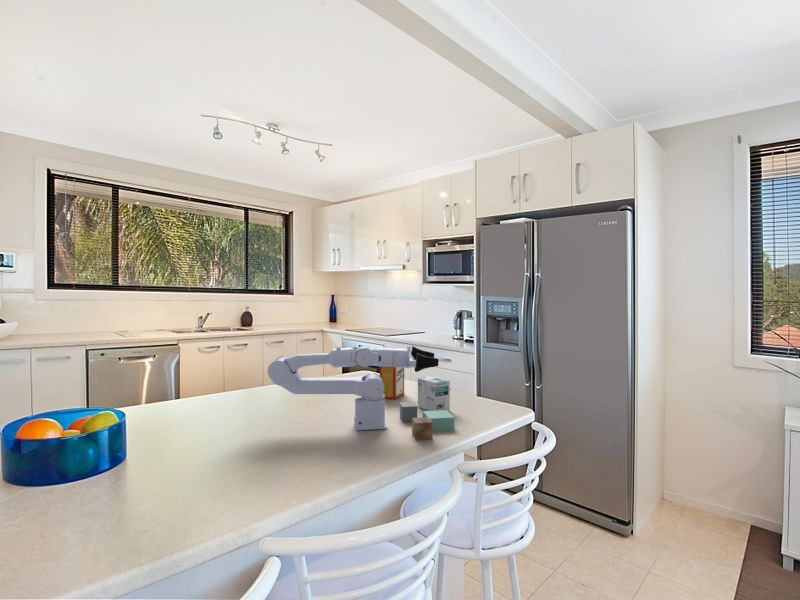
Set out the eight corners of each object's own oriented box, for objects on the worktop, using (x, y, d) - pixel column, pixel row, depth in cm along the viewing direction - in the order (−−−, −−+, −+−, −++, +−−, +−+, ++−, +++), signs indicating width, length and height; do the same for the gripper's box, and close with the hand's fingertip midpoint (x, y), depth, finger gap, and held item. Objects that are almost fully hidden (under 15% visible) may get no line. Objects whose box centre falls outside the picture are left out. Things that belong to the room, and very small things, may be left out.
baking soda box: (389, 392, 176) (389, 353, 175) (404, 394, 173) (404, 354, 173) (379, 398, 167) (379, 357, 167) (395, 399, 165) (395, 358, 164)
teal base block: (428, 431, 128) (428, 418, 128) (422, 423, 136) (422, 411, 136) (454, 430, 130) (454, 417, 130) (447, 422, 138) (447, 410, 138)
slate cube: (402, 422, 137) (402, 406, 137) (399, 417, 142) (399, 402, 142) (417, 421, 138) (417, 406, 138) (414, 417, 143) (414, 402, 142)
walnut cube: (415, 440, 120) (415, 423, 120) (412, 434, 125) (412, 417, 125) (432, 439, 121) (432, 422, 121) (428, 434, 126) (428, 417, 126)
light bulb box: (450, 410, 150) (450, 380, 150) (435, 414, 146) (435, 382, 146) (431, 404, 159) (431, 375, 158) (416, 406, 155) (416, 377, 155)
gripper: (395, 350, 125) (441, 352, 127) (392, 340, 140) (433, 342, 141) (394, 373, 126) (439, 375, 127) (390, 361, 140) (431, 363, 142)
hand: (436, 359), depth 134 cm, fingers open, 7 cm apart
